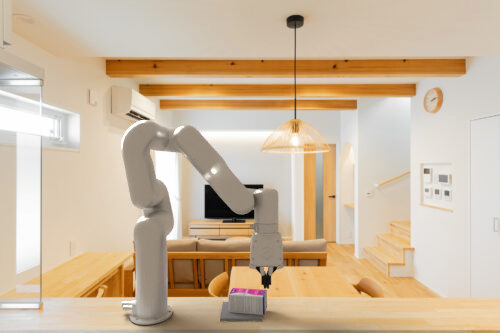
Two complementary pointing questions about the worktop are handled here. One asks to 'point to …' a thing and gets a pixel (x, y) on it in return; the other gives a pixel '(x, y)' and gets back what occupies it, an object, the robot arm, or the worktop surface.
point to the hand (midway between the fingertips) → (266, 287)
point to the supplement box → (248, 301)
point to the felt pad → (237, 315)
